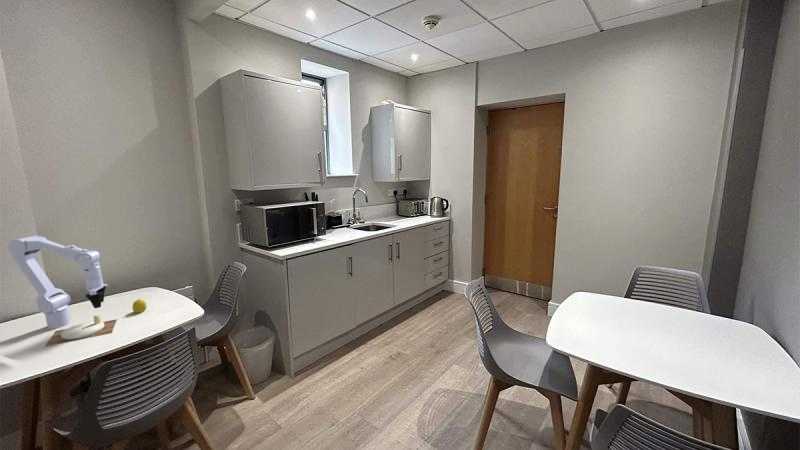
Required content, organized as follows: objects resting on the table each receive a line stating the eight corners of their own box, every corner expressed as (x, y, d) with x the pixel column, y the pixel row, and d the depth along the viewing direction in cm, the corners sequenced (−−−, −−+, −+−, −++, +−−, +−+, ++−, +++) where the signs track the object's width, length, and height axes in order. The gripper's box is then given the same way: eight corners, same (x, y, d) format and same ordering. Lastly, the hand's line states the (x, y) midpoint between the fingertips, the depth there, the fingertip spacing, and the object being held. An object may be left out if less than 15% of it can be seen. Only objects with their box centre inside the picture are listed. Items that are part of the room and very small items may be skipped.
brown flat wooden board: (56, 333, 146) (55, 330, 146) (117, 322, 158) (116, 318, 158) (44, 350, 133) (44, 346, 133) (112, 336, 145) (111, 332, 145)
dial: (74, 342, 137) (72, 330, 136) (53, 336, 141) (51, 325, 140) (112, 327, 150) (110, 316, 149) (91, 322, 154) (90, 312, 153)
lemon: (139, 316, 164) (137, 301, 162) (130, 315, 165) (128, 300, 163) (150, 312, 169) (148, 297, 168) (141, 311, 170) (139, 296, 169)
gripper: (102, 279, 146) (108, 307, 148) (107, 271, 158) (112, 297, 160) (80, 282, 142) (87, 312, 144) (87, 274, 154) (93, 301, 156)
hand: (99, 304), depth 152 cm, fingers open, 7 cm apart
